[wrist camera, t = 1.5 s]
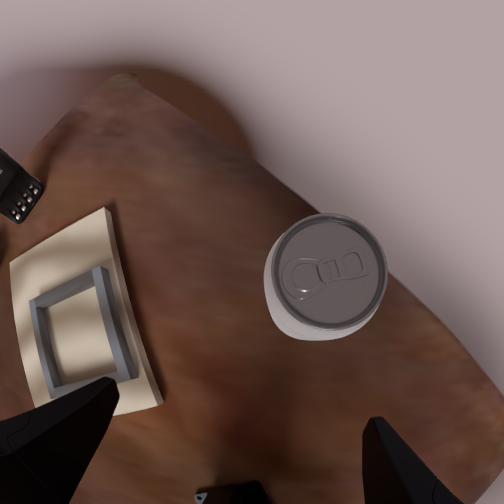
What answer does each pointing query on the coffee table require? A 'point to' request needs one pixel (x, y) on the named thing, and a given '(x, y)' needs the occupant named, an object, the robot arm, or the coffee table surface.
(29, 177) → the battery charger
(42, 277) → the collar board
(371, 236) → the can
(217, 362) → the coffee table surface
